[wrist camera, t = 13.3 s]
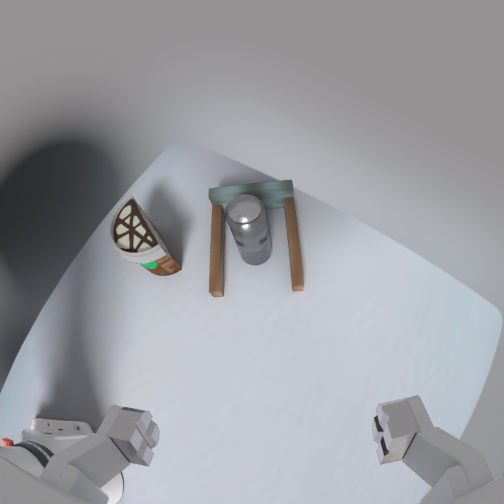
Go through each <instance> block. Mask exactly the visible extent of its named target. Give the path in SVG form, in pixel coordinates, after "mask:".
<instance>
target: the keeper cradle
mask: <svg viewBox="0 0 504 504" xmlns="http://www.w3.org/2000/svg"><path fill="white" fill-rule="evenodd" d="M243 194H249V195H253V196H256V197H258V198H259V199H260V200H261V201H262V202H263V204H264V207H265V209H266V208H277V207H285V215H286V225H287V235H288V245H289V255H290V266H291V278H292V289H293V291H303V286H304V283H303V273H302V264H301V255H300V246H299V237H298V229H297V221H296V213H295V205H294V198H293V183H292V180H283V181H273V182H262V183H253V184H244V185H235V186H227V187H219V188H211V189H209V199H210V201H211V203H212V224H211V247H210V277H209V292H210V293H211V294H212V296H213V297H221V296H224V225H225V210H226V207H227V205H228V204H229V202H230V201H231V200H232V199H233V198H235V197H237V196H239V195H243Z"/></svg>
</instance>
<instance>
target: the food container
mask: <svg viewBox="0 0 504 504" xmlns="http://www.w3.org/2000/svg"><path fill="white" fill-rule="evenodd" d="M110 236H111V240H112V243H113V245H114V247H115V249H116V250H117V252H118V253H119V255H120V256H121V257H122V258H124V259H125V260H127V261H129V262H132V263H139V264H140V265H141V266H143V267H144V268H146V269H147V270H149V271H150V272H152V273H153V274H156V275H160V276H166V275H171V274H174V273H176V272H178V271H180V270H181V267H180V266H179V264H178V262H177V261H176V259H175V258H174V256H173V254H172V253H171V251H170V250H169V248H168V246H167V245H166V243H165V241H164V240H163V238H162V236H161V235H160V233H159V231H158V230H157V229H156V227H155V226H154V225H153V223H152V222H151V221H150V219H149V218H148V217H147V216H146V214H145V213H144V212H143V210H142V209H141V208H140V206H139V205H138V204H137V202H136V201H135V199H134V198H133V196H132V195H131V194H129V195H128V196H127V197H125V198H124V199H123V200H122V202H121V203H120V204H119V205H118V207H117V208H116V210H115V212H114V214H113V216H112V219H111V223H110Z"/></svg>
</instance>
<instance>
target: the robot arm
mask: <svg viewBox="0 0 504 504" xmlns="http://www.w3.org/2000/svg"><path fill="white" fill-rule="evenodd" d="M376 413H377V416H376V417H374V419H373V424H372V432H373V438H374V441H375V442H376V443H378V444H379V446H378V448H377V454H378V458H379V462H380V465H381V464H386V463H391V462H395V461H399V460H402V461H403V462H404V463H405V464H406V465H407V466H408V467H409V468H411V469H412V470H413V471H414V472H415V473H416V474H417V475H419V476H420V477H421V478H422V479H423V480H424V481H425V482H427V483H428V484H429V485H430V486H431V487H432V488H431V489H430V490H429V491H428V492H427V494H426V495H425V496H424V497H423V498H422V504H504V474H503V475H501V476H500V477H498V478H496V479H493V477H492V474H491V472H490V470H489V467H488V465H487V463H486V460H485V458H484V456H483V454H482V453H481V452H479V451H477V450H476V449H474V448H472V447H471V446H469V445H467V444H465V443H464V442H462V441H460V440H459V439H457V438H455V437H454V436H452V435H450V434H449V433H447V432H445V431H444V430H442V429H440V428H439V427H435V428H434V426H433V424H432V422H431V420H430V418H429V415H428V413H427V411H426V409H425V407H424V404H423V402H422V400H421V398H420V397H419V396H418V395H416V396H412V397H409V398H405V399H404V398H403V399H399V400H395V401H390V402H386V403H381V404H378V406H377V408H376ZM151 419H152V415H151V414H150V412H149V411H145V410H139V409H133V408H128V407H123V406H117V405H113V406H112V407H111V408H110V409H109V411H108V413H107V414H106V416H105V418H104V420H103V421H102V423H101V425H100V427H99V428H98V430H97V432H96V434H95V433H94V432H93V430H92V429H91V427H90V425H89V424H88V423H87V422H83V421H65V420H52V419H42V418H35V419H34V420H33V422H32V425H31V429H26V430H23V431H22V432H21V435H20V440H19V443H18V444H15V445H14V442H13V441H12V440H11V439H8V438H3V439H2V442H3V446H0V504H116V503H117V502H118V501H119V500H120V498H121V496H122V492H123V480H122V476H121V471H122V470H124V469H125V468H126V467H127V466H128V465H129V464H130V463H133V464H138V465H143V466H149V465H150V463H151V460H152V457H153V455H154V453H153V451H152V448H154V447H155V446H156V445H157V444H158V441H159V428H158V426H157V424H156V423H155V422H153V421H152V420H151ZM79 428H80V430H79Z"/></svg>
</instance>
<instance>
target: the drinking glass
mask: <svg viewBox="0 0 504 504" xmlns="http://www.w3.org/2000/svg"><path fill="white" fill-rule="evenodd" d="M225 215H226V219H227V221H228V224H229V226H230V229H231V231H232V234H233V236H234V239H235V242H236V244H237V247H238V249H239V252H240V254H241V257H242V259H243V260H244V261H245V262H246V263H248V264H251V265H260V264H263V263H264V262H266V261H267V260H268V259H269V257H270V256H271V252H272V248H271V242H270V236H269V230H268V224H267V218H266V213H265V207H264V204H263V202H262V201H261V200H260V199H259V198H258V197H256V196H253V195H249V194H243V195H239V196H237V197H235V198H233V199H232V200H231V201H230V202H229V204H228V205H227V207H226V210H225Z"/></svg>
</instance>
